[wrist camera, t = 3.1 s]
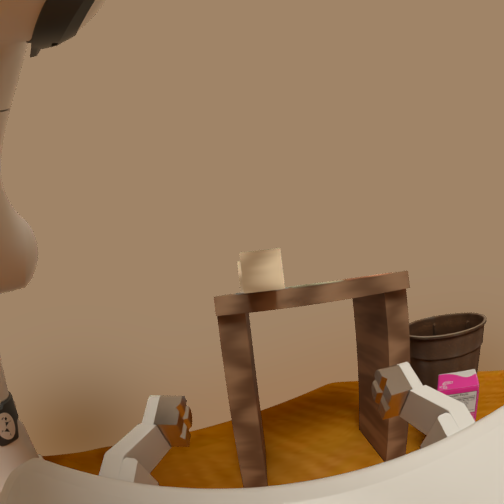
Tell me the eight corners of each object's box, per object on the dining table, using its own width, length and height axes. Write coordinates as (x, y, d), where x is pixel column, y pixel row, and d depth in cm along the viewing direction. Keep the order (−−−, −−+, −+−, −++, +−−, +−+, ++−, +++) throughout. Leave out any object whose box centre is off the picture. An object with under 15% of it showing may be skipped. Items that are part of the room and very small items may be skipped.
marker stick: (230, 295, 21) (224, 240, 22) (242, 292, 42) (239, 264, 42) (298, 287, 21) (291, 233, 22) (277, 288, 42) (273, 260, 42)
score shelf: (244, 494, 27) (213, 295, 30) (246, 445, 40) (226, 294, 44) (407, 459, 27) (407, 269, 30) (373, 422, 41) (365, 276, 44)
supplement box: (432, 440, 29) (438, 372, 30) (468, 437, 25) (477, 367, 27) (427, 462, 24) (436, 389, 26) (468, 459, 21) (482, 383, 22)
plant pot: (468, 432, 26) (477, 332, 29) (384, 422, 40) (383, 336, 42) (488, 389, 36) (491, 309, 38) (421, 387, 49) (420, 316, 51)
